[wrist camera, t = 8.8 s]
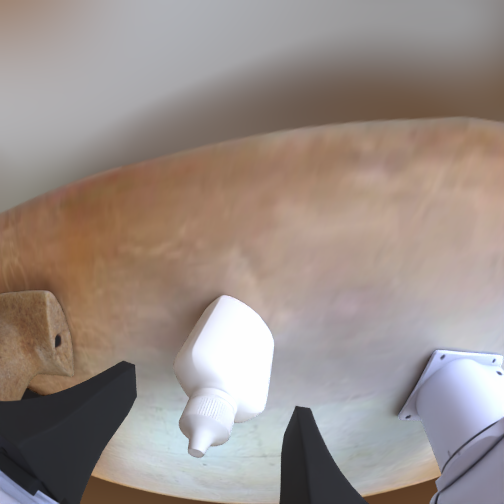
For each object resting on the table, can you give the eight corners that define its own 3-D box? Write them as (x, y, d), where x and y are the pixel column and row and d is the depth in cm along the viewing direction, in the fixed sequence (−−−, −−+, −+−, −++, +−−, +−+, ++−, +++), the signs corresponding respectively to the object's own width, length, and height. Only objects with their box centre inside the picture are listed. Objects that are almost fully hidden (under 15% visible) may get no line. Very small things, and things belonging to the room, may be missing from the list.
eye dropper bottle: (224, 359, 23) (177, 481, 11) (202, 296, 22) (124, 407, 10) (277, 352, 22) (261, 485, 10) (259, 285, 21) (223, 407, 9)
